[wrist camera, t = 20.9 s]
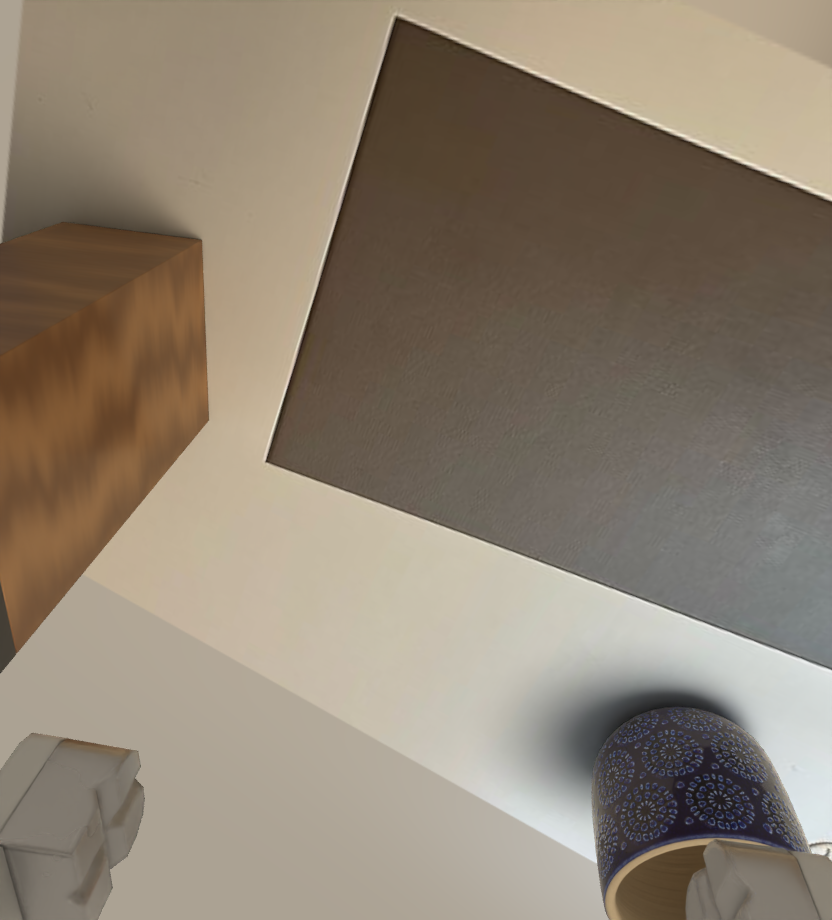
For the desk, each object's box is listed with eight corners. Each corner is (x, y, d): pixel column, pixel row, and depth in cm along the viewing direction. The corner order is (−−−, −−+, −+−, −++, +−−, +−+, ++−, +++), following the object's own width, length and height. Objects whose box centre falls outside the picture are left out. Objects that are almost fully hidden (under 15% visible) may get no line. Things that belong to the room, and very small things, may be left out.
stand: (62, 221, 51) (-294, 345, 28) (202, 239, 50) (-43, 380, 27) (85, 403, 57) (-186, 623, 35) (209, 420, 57) (17, 654, 34)
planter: (773, 682, 64) (844, 839, 51) (755, 805, 71) (812, 970, 58) (581, 684, 66) (602, 835, 53) (584, 804, 74) (602, 961, 61)
